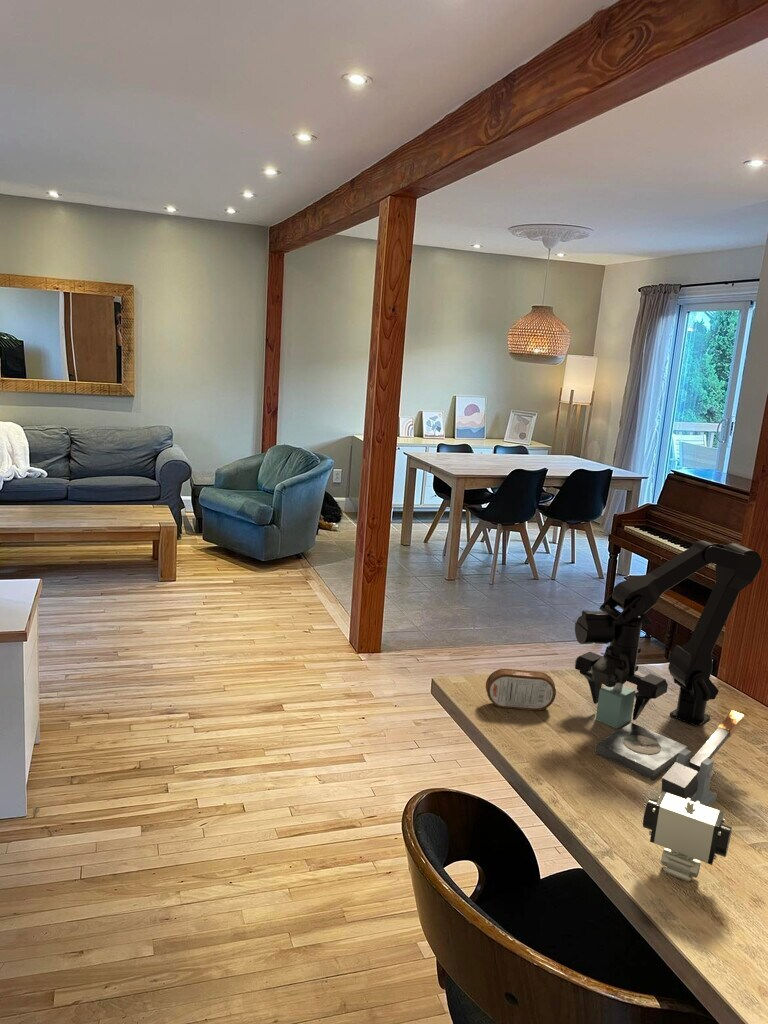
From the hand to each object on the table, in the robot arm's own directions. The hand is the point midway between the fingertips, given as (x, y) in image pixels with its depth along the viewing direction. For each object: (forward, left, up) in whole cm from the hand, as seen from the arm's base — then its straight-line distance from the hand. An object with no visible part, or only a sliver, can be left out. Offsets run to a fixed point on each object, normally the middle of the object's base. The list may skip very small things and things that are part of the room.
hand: (614, 711), depth 164 cm
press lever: (+11, +24, +3) cm, 26 cm away
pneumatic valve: (+37, +32, -2) cm, 49 cm away
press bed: (+9, +11, -2) cm, 14 cm away
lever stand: (+16, +24, -2) cm, 29 cm away
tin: (+12, -16, -2) cm, 20 cm away
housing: (0, 0, -2) cm, 2 cm away
